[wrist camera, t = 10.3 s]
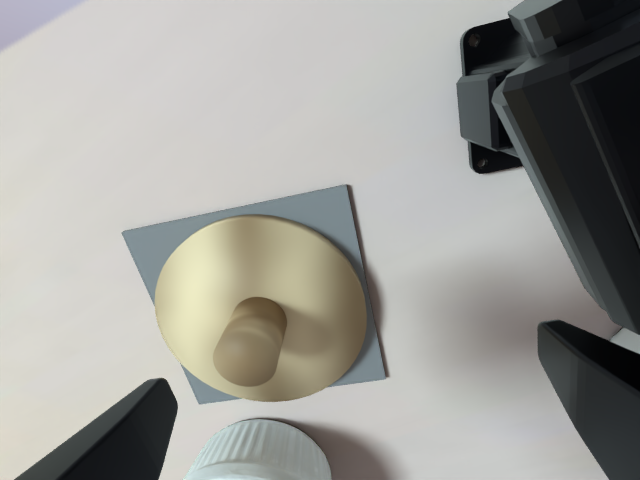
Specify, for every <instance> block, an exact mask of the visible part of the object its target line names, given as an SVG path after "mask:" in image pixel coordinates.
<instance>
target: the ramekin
mask: <svg viewBox="0 0 640 480" xmlns="http://www.w3.org/2000/svg"><path fill="white" fill-rule="evenodd" d="M183 480H332V478H331V470H330V467H329V463H328V460H327V459H326V456H325V454H324V453H323V452H322V450H321V449H320V447H319V446H318V445H317V444H316V443H315V442H314V441H313V440H312V439H311V438H310V437H309V436H308V435H306V434H305V433H304V432H302V431H301V430H299V429H297V428H295V427H293V426H291V425H288V424H286V423H283V422H279V421H274V420H266V419H252V420H246V421H241V422H237V423H235V424H232V425H230V426H228V427H226V428H224V429H222V430H220V431H219V432H218V433H216V434H214V435H213V437H212V438H210V439H209V441H208V442H207V443H206V445H205V446H204V447H203V449H202V450H201V452H200V454H199V455H198V457H197V458H196V460H195V462H194V463H193V465H192V466H191V468H190V469H189V471H188V473H187V474H186V476H185V478H184V479H183Z"/></svg>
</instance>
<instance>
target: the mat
mask: <svg viewBox="0 0 640 480" xmlns="http://www.w3.org/2000/svg"><path fill="white" fill-rule="evenodd" d="M244 214H263V215H272V216H278V217H282V218H286V219H290V220H293V221H295V222H298V223H301V224H304V225H305V226H307V227H309V228H311V229H313V230H315V231H317V232H318V233H320V234H321V235H323V236H324V237H326V238H327V239H328V240H330V241H331V242H332V243H333V244H334V245H335V246H336V247H337V248H339V250H340V251H341V252H342V253H343V254H344V255H345V257H346V258H347V259H348V260H349V262H350V263H351V265H352V266H353V268H354V270H355V271H356V273H357V276H358V278H359V280H360V282H361V285H362V289H363V292H364V297H365V305H366V313H367V326H366V333H365V338H364V341H363V344H362V347H361V350H360V352H359V354H358V356H357V358H356V360H355V361H354V362H353V364H352V365H351V366H350V368H349V369H348V370H347V371H346V372H345V373H344V374H343V375H342V376H341V377H340V378H339V379H338V380H336V381H335V382H334V383H333V384H331V385H329V386H328V387H332V386H339V385H347V384H354V383H362V382H369V381H377V380H384V379H386V377H385V372H384V367H383V362H382V357H381V352H380V347H379V343H378V338H377V333H376V328H375V323H374V318H373V313H372V308H371V303H370V298H369V294H368V289H367V284H366V279H365V274H364V269H363V264H362V259H361V254H360V249H359V245H358V240H357V235H356V230H355V225H354V220H353V215H352V210H351V205H350V200H349V196H348V191H347V186H346V185H341V186H336V187H331V188H327V189H322V190H317V191H312V192H307V193H303V194H298V195H293V196H288V197H284V198H279V199H274V200H269V201H265V202H260V203H255V204H250V205H245V206H241V207H236V208H231V209H226V210H222V211H217V212H212V213H207V214H203V215H198V216H193V217H188V218H184V219H179V220H174V221H169V222H164V223H160V224H155V225H150V226H145V227H141V228H136V229H131V230H126V231H123V232H122V235H123V237H124V240H125V242H126V244H127V246H128V248H129V251H130V253H131V255H132V257H133V260H134V262H135V264H136V266H137V268H138V271H139V273H140V275H141V277H142V279H143V282H144V284H145V286H146V288H147V291H148V293H149V295H150V297H151V299H152V302H153V304H154V306H155V290H156V286H157V281H158V278H159V275H160V273H161V271H162V268H163V266H164V265H165V263H166V261H167V260H168V258H169V257H170V256H171V254H172V253H173V252H174V251H175V250H176V249H177V247H179V246H180V245H181V244H182V243H183V242H184V241H185V240H186V239H187V238H189V237H190V236H191V235H192V234H193V233H194V232H196V231H198V230H199V229H201V228H202V227H204V226H206V225H208V224H210V223H213V222H215V221H217V220H220V219H224V218H227V217H231V216H237V215H244ZM180 364H181V363H180ZM181 366H182V368H183V370H184V372H185V375H186V377H187V379H188V381H189V383H190V386H191V388H192V390H193V392H194V395H195V397H196V399H197V401H198V403H199V404H206V403H213V402H221V401H228V400H235V399H243V398H239V397H235V396H232V395H229V394H226V393H224V392H222V391H219V390H217V389H215V388H213V387H211V386H209V385H208V384H206V383H204V382H202V381H201V380H200V379H198V378H197V377H195V376H194V375H193V374H192V373H190V372H189V371H188V370H187V369H186V368H185V367H184V366H183V365H182V364H181Z"/></svg>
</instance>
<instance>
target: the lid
mask: <svg viewBox="0 0 640 480" xmlns="http://www.w3.org/2000/svg"><path fill="white" fill-rule="evenodd" d="M155 313H156V318H157V322H158V326H159V329H160V332H161V334H162V337H163V339H164V340H165V342H166V344H167V346H168V348H169V349H170V351H171V352H172V353H173V355H174V356H175V358H176V359H177V360H178V361H179V362H180V363H181V364H182V365H183V366H184V367H185V368H186V369H187V370H188V371H189V372H190V373H192V374H193V375H194V376H195V377H197V378H198V379H200V380H201V381H202V382H204V383H206V384H208V385H209V386H211V387H213V388H215V389H217V390H219V391H222V392H224V393H226V394H229V395H232V396H235V397H239V398H243V399H248V400H254V401H262V402H278V401H289V400H294V399H299V398H302V397H306V396H309V395H312V394H314V393H316V392H319V391H321V390H323V389H324V388H326V387H328V386H329V385H331V384H333V383H334V382H335V381H336V380H338V379H339V378H340V377H341V376H342V375H343V374H344V373H345V372H346V371H347V370H348V369H349V368H350V366H351V365H352V364H353V362H354V361H355V360H356V358H357V356H358V354H359V352H360V350H361V347H362V344H363V341H364V338H365V333H366V326H367V313H366V305H365V297H364V292H363V289H362V285H361V282H360V280H359V278H358V276H357V273H356V271H355V270H354V268H353V266H352V265H351V263H350V262H349V260H348V259H347V258H346V257H345V255H344V254H343V253H342V252H341V251H340V250H339V248H337V247H336V246H335V245H334V244H333V243H332V242H331V241H330V240H328V239H327V238H326V237H324V236H323V235H321V234H320V233H318V232H317V231H315V230H313V229H311V228H309V227H307V226H305V225H304V224H301V223H298V222H295V221H293V220H290V219H286V218H282V217H278V216H272V215H263V214H244V215H237V216H231V217H227V218H224V219H220V220H217V221H215V222H213V223H210V224H208V225H206V226H204V227H202V228H201V229H199V230H198V231H196V232H194V233H193V234H192V235H191V236H190V237H189V238H187V239H186V240H185V241H184V242H183V243H182V244H181V245H180V246H179V247H177V249H176V250H175V251H174V252H173V253H172V254H171V256H170V257H169V258H168V260H167V261H166V263H165V265H164V266H163V268H162V271H161V273H160V275H159V278H158V281H157V286H156V290H155Z"/></svg>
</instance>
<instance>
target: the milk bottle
mask: <svg viewBox="0 0 640 480" xmlns="http://www.w3.org/2000/svg"><path fill="white" fill-rule="evenodd" d="M610 342H613V343H615V344H617V345H620V346H622V347H624V348H627V349H629V350H631V351H634V352H636V353H638V354H640V335H638V334H636V333H634V332H632V331H630V330H628V329H626V328H622V329H621V330H620V331H619V332H618V333H617V334H616V335H614V336H613V337H612V339H611V340H610Z"/></svg>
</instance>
